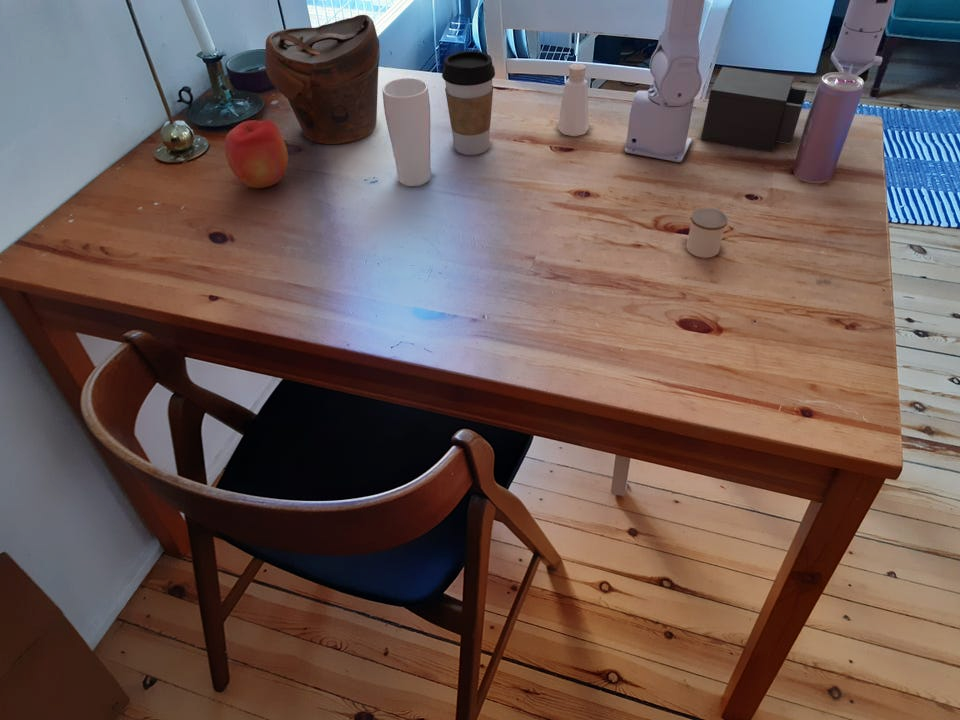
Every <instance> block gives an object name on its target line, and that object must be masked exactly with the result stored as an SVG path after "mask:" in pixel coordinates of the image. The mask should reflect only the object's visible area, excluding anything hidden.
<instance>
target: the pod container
mask: <svg viewBox="0 0 960 720" xmlns="http://www.w3.org/2000/svg"><path fill="white" fill-rule="evenodd" d="M690 221H691V222H690V227H689V231H688V236H687V241H686V246H685V247H686V250H687V252H688V253H690V254H691V255H692V256H695V257H699V258H707V259H708V258H713V257H715V256H716V255H718V254H719V252H720V248H721V246H722V245H721V244H722V241H723V237H724V233H725V228H726V227H727V225H728V223H729V217H728V215H727V214H726V213H725V212H723V211H722V210H720V209H717V208H713V207H700V208H697V209H695V210H693V211H692V213H691V215H690Z"/></svg>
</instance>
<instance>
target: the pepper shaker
mask: <svg viewBox="0 0 960 720" xmlns="http://www.w3.org/2000/svg"><path fill="white" fill-rule="evenodd" d="M586 70H587V67H586V65H585V64H583V63H579V62H578V63H577V62H576V63H572V64H570V65H569V66H568V78H567V79H566V80H565V82H564V86H563V92H562V99H561V105H560V111H559V117H558V123H557V130H558V131H559V132H560V133H561V134H562V135H563V136H564V135H565V136H570V137H578V136H582V135H586V133H587V132H588V130H589V128H590V124H589V123H590V119H589V118H590V117H589V82H588V81H587V80H586V79H585V76H586Z"/></svg>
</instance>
